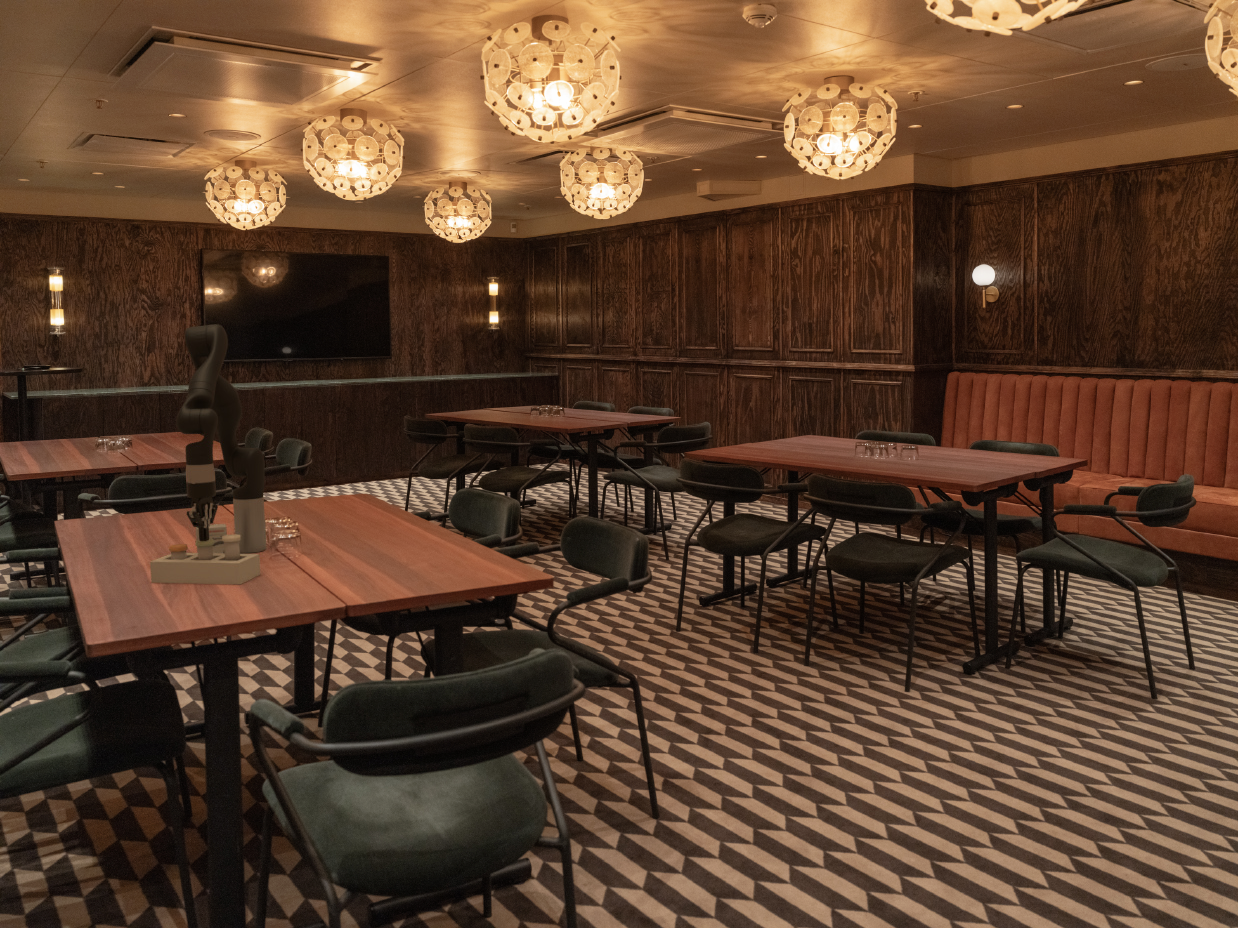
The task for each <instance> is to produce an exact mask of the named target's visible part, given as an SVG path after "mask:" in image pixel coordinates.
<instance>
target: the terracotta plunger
mask: <svg viewBox="0 0 1238 928" xmlns="http://www.w3.org/2000/svg"><path fill="white" fill-rule="evenodd" d="M188 546H189V545H188V544H186V543H176V544H171V545H169V546H168V551H169V552H170V554H171V560H184V559H186V558H187V555H186V553H187V550H189V548H188Z"/></svg>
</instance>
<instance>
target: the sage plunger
mask: <svg viewBox="0 0 1238 928" xmlns="http://www.w3.org/2000/svg"><path fill="white" fill-rule="evenodd" d="M213 545H214V540H213V539H209V540H207V541H200V540H195V547H196V552H197V551H198V560H212V559H213Z"/></svg>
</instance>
